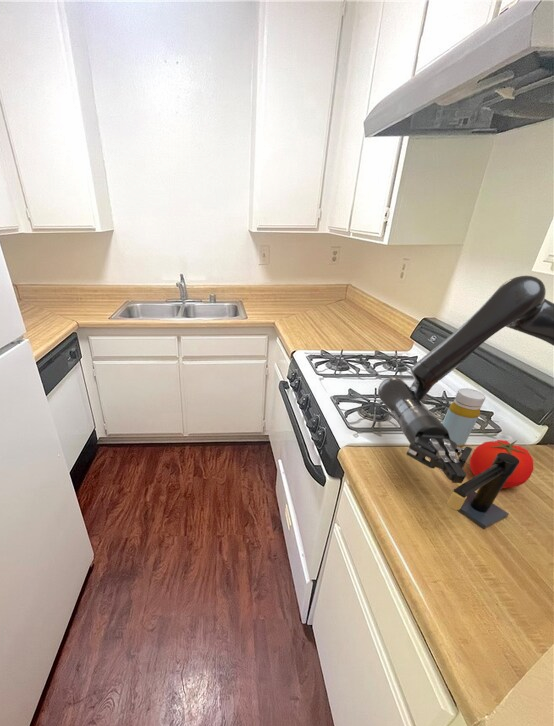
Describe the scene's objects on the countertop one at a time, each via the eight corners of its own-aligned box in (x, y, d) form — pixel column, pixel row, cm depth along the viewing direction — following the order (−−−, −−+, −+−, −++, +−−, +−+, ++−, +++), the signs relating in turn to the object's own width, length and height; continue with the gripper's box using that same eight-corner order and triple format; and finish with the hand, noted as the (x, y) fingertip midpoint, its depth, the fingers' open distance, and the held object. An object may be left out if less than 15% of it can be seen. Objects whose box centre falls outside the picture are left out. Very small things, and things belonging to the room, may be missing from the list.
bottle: (456, 451, 93) (480, 402, 84) (431, 439, 97) (451, 391, 89) (468, 443, 96) (492, 395, 88) (443, 431, 101) (464, 385, 92)
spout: (491, 469, 72) (502, 450, 69) (510, 479, 69) (523, 460, 66) (440, 501, 63) (451, 481, 61) (460, 514, 61) (471, 493, 58)
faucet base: (470, 493, 79) (492, 455, 73) (507, 517, 73) (533, 477, 67) (448, 503, 76) (468, 464, 70) (483, 529, 70) (509, 489, 64)
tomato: (513, 472, 86) (534, 438, 80) (526, 502, 77) (551, 466, 71) (459, 460, 90) (475, 426, 84) (466, 487, 81) (485, 452, 75)
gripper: (397, 413, 76) (430, 461, 62) (458, 416, 76) (506, 466, 61) (387, 440, 80) (416, 492, 66) (445, 444, 80) (487, 496, 66)
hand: (459, 479), depth 64 cm, fingers closed
